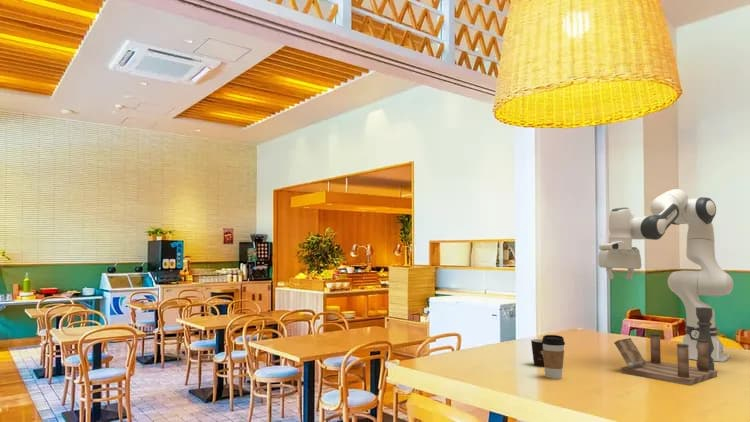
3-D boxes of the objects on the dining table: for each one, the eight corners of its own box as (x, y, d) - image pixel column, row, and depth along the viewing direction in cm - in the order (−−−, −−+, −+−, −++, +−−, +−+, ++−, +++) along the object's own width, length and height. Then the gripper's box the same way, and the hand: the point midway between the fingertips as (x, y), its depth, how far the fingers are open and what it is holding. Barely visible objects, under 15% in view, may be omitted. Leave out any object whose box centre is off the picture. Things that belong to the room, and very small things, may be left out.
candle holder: (717, 373, 221) (715, 309, 223) (699, 372, 223) (698, 308, 224) (711, 370, 227) (709, 307, 229) (694, 369, 229) (692, 306, 230)
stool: (651, 365, 235) (650, 332, 236) (717, 376, 216) (716, 340, 217) (621, 372, 219) (620, 337, 220) (689, 385, 200) (688, 346, 201)
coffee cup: (565, 375, 213) (565, 335, 214) (565, 380, 205) (564, 338, 206) (542, 373, 216) (542, 334, 217) (541, 378, 208) (541, 337, 209)
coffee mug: (529, 366, 229) (529, 341, 230) (532, 362, 237) (532, 338, 238) (559, 369, 225) (559, 343, 226) (561, 365, 233) (561, 340, 234)
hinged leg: (642, 365, 224) (626, 340, 229) (646, 363, 223) (630, 338, 228) (629, 368, 217) (613, 342, 223) (634, 366, 216) (617, 340, 221)
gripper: (633, 247, 241) (633, 279, 240) (595, 245, 234) (595, 278, 233) (645, 247, 236) (645, 280, 234) (607, 244, 228) (607, 279, 227)
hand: (620, 279), depth 233 cm, fingers open, 8 cm apart
